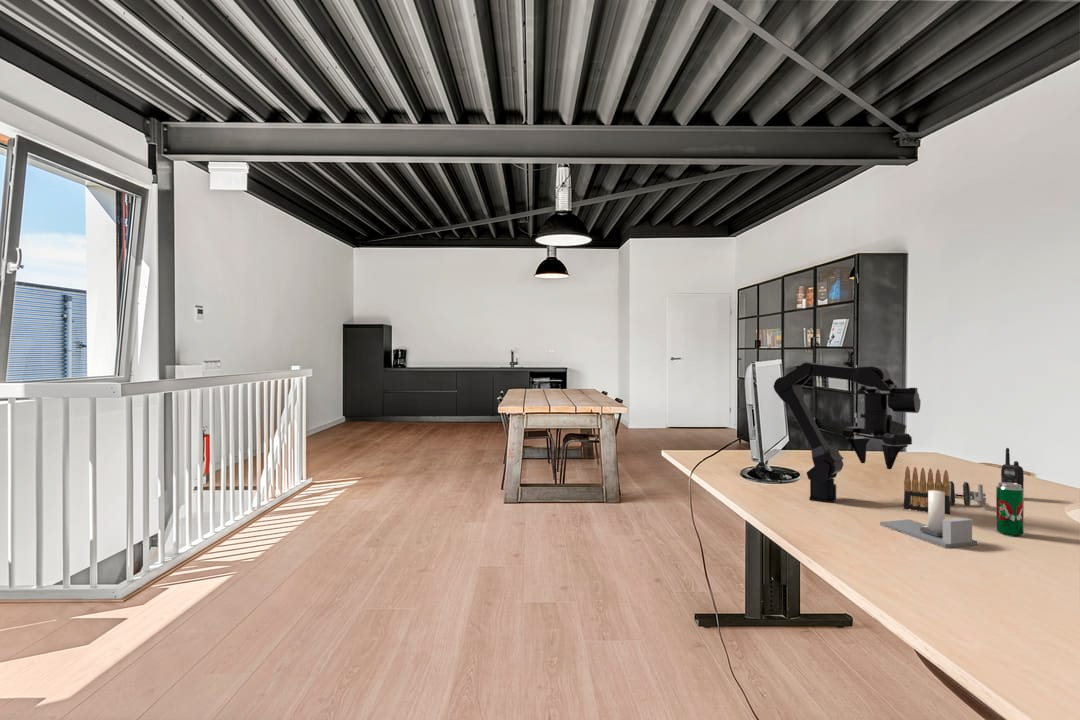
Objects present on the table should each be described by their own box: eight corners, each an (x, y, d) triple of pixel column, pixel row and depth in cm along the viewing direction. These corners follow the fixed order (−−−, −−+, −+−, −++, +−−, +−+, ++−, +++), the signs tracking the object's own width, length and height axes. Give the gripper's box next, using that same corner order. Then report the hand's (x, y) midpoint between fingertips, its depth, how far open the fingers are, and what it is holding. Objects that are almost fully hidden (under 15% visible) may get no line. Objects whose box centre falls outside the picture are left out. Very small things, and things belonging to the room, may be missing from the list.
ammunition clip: (950, 513, 155) (950, 469, 155) (950, 515, 154) (950, 470, 154) (904, 507, 161) (903, 465, 161) (903, 509, 160) (903, 466, 160)
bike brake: (993, 509, 156) (975, 503, 174) (991, 484, 157) (973, 481, 175) (933, 504, 162) (922, 499, 180) (932, 480, 163) (920, 477, 181)
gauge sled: (920, 530, 136) (920, 489, 136) (943, 528, 138) (943, 488, 138) (937, 536, 132) (937, 494, 132) (961, 534, 134) (961, 492, 134)
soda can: (1017, 531, 139) (1017, 482, 139) (1027, 537, 134) (1027, 486, 134) (992, 529, 140) (992, 481, 140) (1001, 535, 136) (1001, 485, 136)
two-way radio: (998, 496, 173) (998, 447, 172) (1006, 495, 174) (1006, 446, 174) (1020, 501, 168) (1020, 450, 167) (1028, 499, 169) (1028, 449, 169)
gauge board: (880, 525, 145) (880, 502, 145) (909, 522, 147) (909, 500, 147) (945, 548, 127) (945, 522, 127) (977, 544, 129) (977, 519, 129)
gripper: (928, 412, 153) (928, 470, 153) (873, 407, 171) (873, 459, 171) (894, 414, 150) (894, 473, 151) (841, 408, 169) (841, 460, 169)
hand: (875, 466), depth 160 cm, fingers open, 9 cm apart
